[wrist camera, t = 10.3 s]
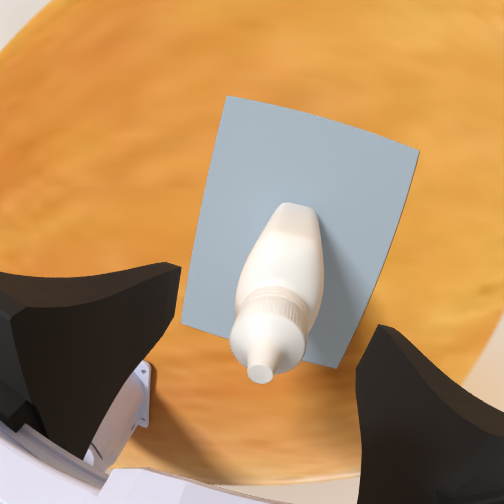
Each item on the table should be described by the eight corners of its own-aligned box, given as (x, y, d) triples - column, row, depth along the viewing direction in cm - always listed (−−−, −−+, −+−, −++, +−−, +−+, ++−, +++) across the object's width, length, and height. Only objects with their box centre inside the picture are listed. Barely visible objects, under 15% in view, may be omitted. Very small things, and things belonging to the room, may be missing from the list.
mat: (336, 368, 21) (336, 368, 21) (181, 322, 23) (180, 323, 22) (418, 150, 16) (419, 150, 16) (227, 95, 17) (226, 95, 17)
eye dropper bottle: (346, 238, 18) (392, 357, 7) (285, 299, 20) (255, 448, 9) (292, 189, 18) (266, 247, 7) (234, 256, 20) (148, 375, 9)
